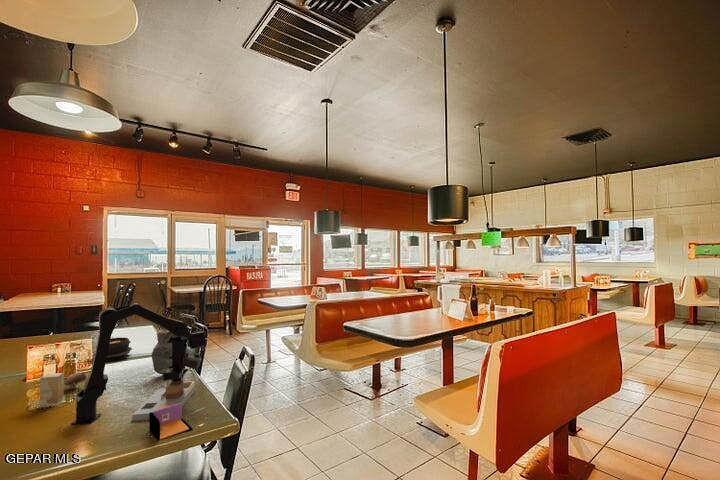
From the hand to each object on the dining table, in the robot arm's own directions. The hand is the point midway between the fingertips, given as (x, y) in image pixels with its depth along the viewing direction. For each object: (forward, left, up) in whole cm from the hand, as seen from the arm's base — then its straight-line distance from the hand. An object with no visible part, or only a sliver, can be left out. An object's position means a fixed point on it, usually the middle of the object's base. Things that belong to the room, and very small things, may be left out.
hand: (178, 388), depth 144 cm
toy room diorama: (-28, -6, -4) cm, 29 cm away
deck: (-7, +2, -4) cm, 8 cm away
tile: (-14, 0, -4) cm, 15 cm away
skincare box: (+1, +48, -4) cm, 48 cm away
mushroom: (+19, +50, -4) cm, 54 cm away
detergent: (+31, +16, -4) cm, 35 cm away
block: (-5, 0, -1) cm, 5 cm away
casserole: (+70, +60, -4) cm, 93 cm away
